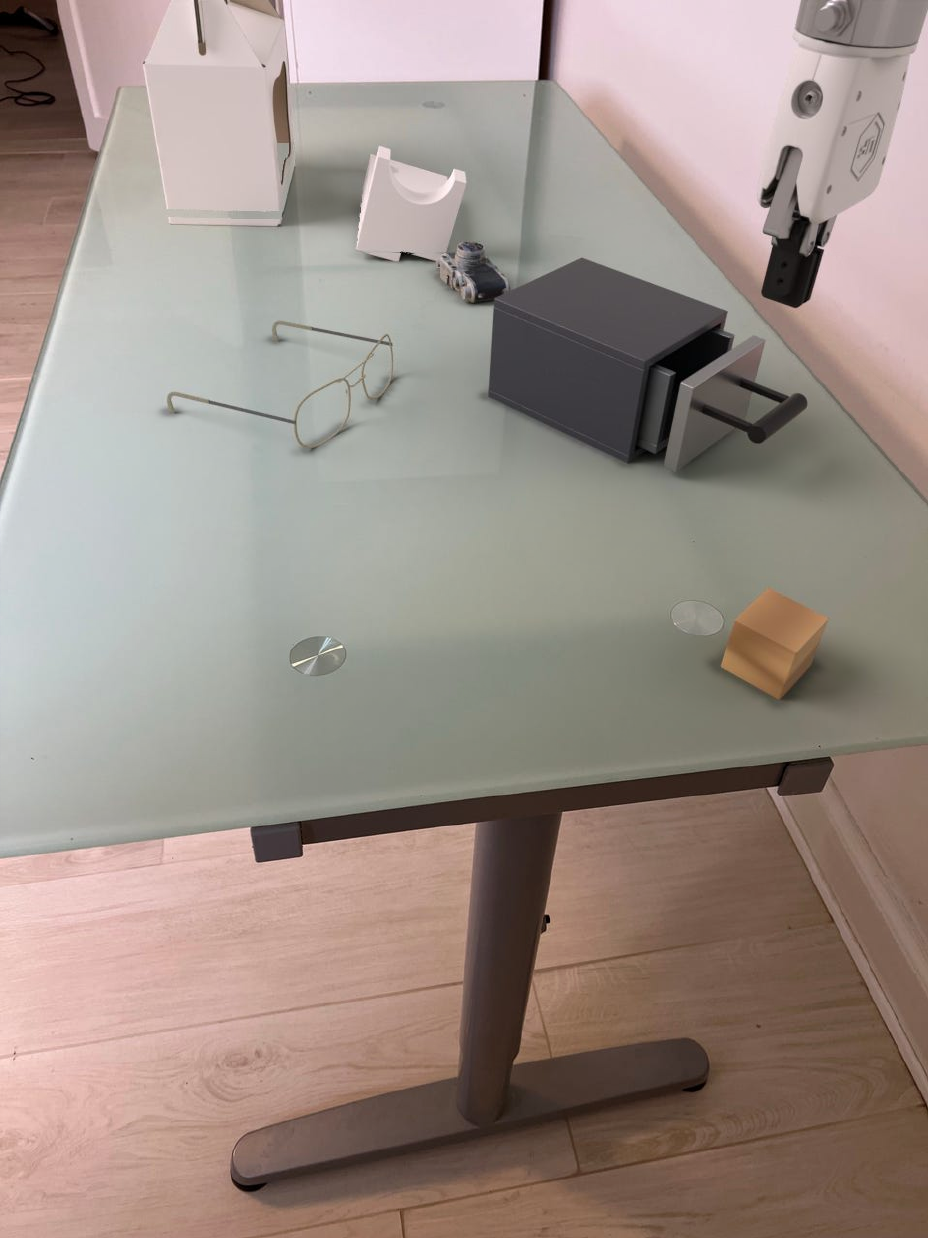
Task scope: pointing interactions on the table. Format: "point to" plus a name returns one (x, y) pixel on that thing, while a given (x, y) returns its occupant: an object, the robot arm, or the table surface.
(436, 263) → the camera
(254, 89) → the gable box
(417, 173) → the white notched cradle
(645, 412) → the pull-out drawer
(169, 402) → the eyeglasses
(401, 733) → the table surface
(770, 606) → the block
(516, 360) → the cabinet
